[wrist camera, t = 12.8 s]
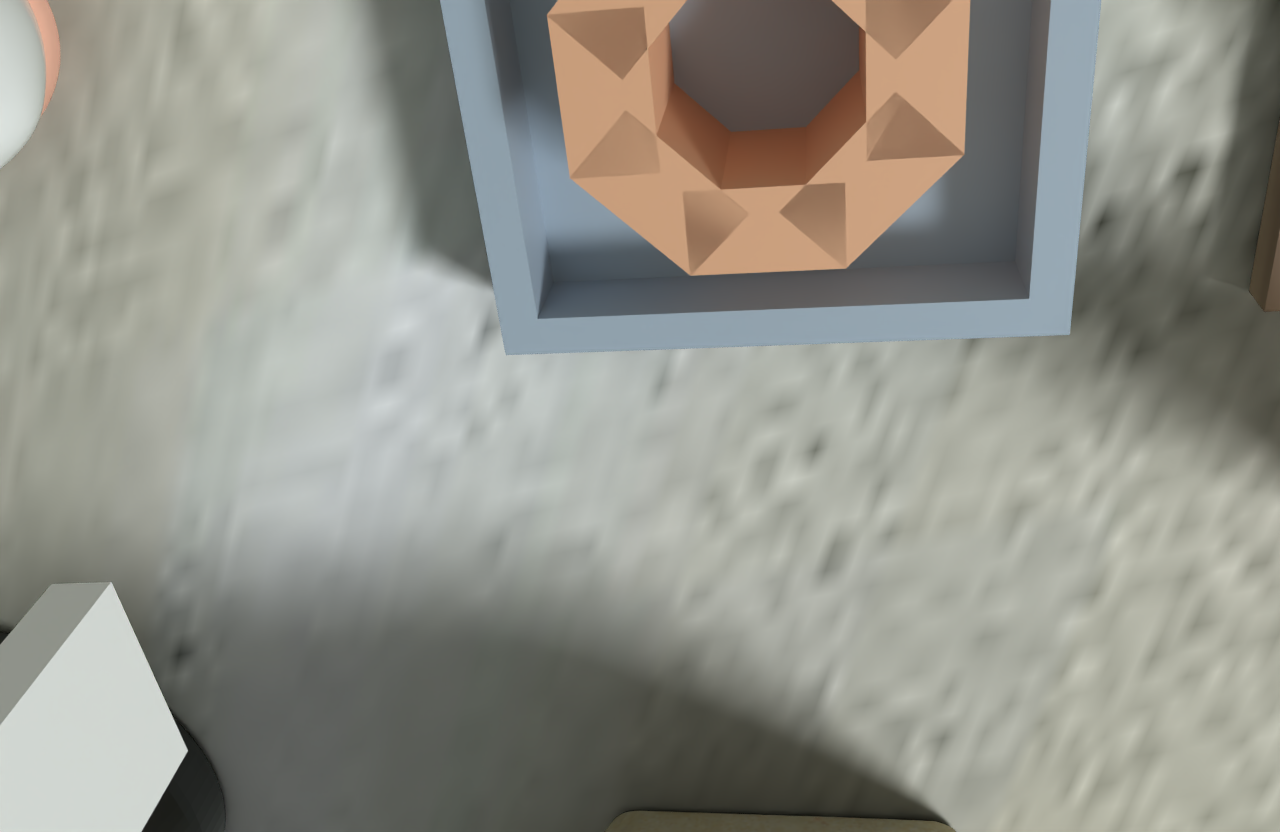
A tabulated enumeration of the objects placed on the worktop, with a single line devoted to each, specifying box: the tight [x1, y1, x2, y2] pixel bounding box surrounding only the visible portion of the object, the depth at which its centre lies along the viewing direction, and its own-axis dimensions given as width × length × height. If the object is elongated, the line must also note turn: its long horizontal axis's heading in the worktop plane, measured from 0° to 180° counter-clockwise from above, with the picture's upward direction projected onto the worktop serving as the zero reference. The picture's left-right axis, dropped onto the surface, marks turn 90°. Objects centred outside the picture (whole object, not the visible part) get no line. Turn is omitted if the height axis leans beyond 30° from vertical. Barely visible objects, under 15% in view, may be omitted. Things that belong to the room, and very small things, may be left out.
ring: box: [547, 0, 970, 276], centre depth 26 cm, size 8×8×4 cm
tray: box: [440, 0, 1101, 355], centre depth 27 cm, size 14×14×3 cm
